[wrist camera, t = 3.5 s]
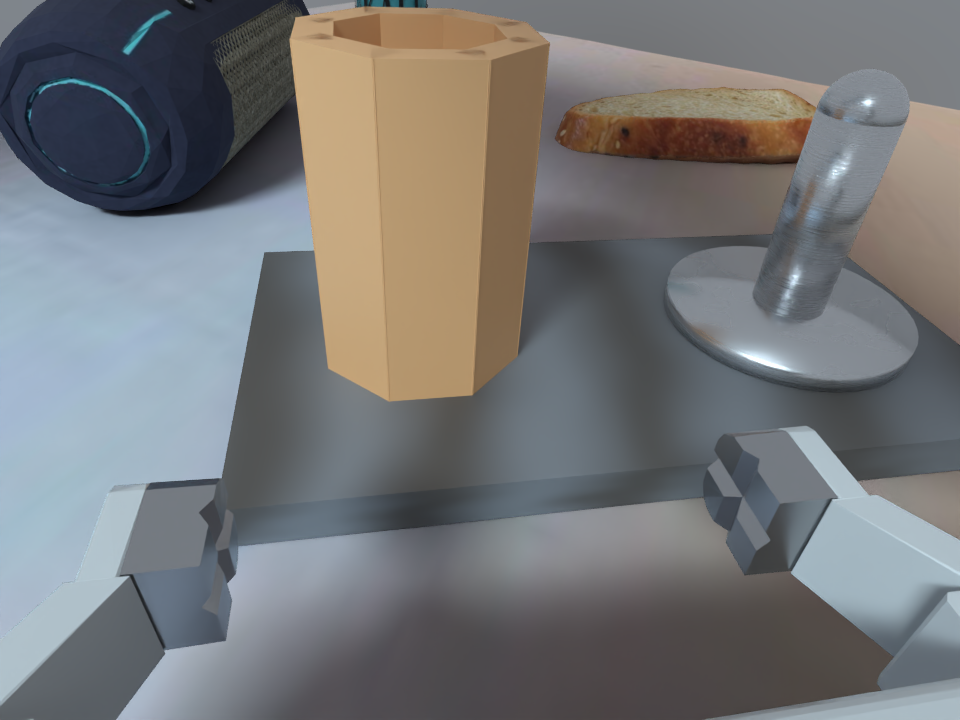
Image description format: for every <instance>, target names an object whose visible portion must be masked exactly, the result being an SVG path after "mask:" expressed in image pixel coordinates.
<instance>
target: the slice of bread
mask: <svg viewBox="0 0 960 720" xmlns="http://www.w3.org/2000/svg"><path fill="white" fill-rule="evenodd" d="M815 111H816V107H814V106H813V105H811V104H810V103H808V102H807V101H805V100H804V99H802V98H800V97H798V96H797V95H795V94H793V93H791V92H789V91H787V90H784V89H768V90H757V89H751V90H747V89H733V88H726V87H720V88H700V89H695V90H689V89H676V90H670V89H669V90H662V91H657V92H654V93H640V94H632V95H622V96H616V97H607V98H601V99H599V100H595V101H592V102H585V103H581V104H579V105H576V106H574V107H573V108H571V109H570V110H569V111H567V112H566V114H565V115H564V117H563V120H562V122H561V124H560V127H559V129H558V132H557V135H556V137H555V139H556V141H557V142H558V143H559V144H561V145H563V146H564V147H566V148H568V149H571V150H575V151H580V152H586V153H598V154H604V155H614V156H623V157H630V158H648V159H658V160H663V159H669V160H680V161H701V162H715V163H726V162H731V163H743V164H746V163H765V164H777V163H783V162H788V163H798V160H799V157H800V154H801V151H802V149H803V146H804V143H805V140H806V137H807V134H808V131H809V129H810V126H811V123H812V120H813V117H814V114H815Z"/></svg>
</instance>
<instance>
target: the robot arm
mask: <svg viewBox="0 0 960 720" xmlns="http://www.w3.org/2000/svg"><path fill="white" fill-rule="evenodd" d="M714 451H715V452H716V454H717V456H718V458H719V459H717V460H716V461H715V462H714V463H713V464H712V465H710V466H709V467H708V468H707V471H706V474H705V477H704V480H703V495H704V500H705V503H706V507H707V509H708V511H709V513H710V515H711V517H712V519H713V521H714V522H716V523H717V524H719V525H720V526H722V527H723V528H725V529H726V530H728V534H727V539H726V544H727V546H728V547H729V549H730V551H731V553H732V554H733V556H734V558H735V560H736V561H737V563H738V565H739V567H740V568H741V570H742V572H743V574H744V575H753V574H764V573H774V572H784V571H792V572H791V574H792V575H793V576H795V577H796V578H797V579H798V580H800V581H801V582H802V583H803V584H804V585H806V586H807V587H808V588H809V589H811V590H812V591H813V592H814V593H816V594H817V595H818V596H819V597H821V598H822V599H823V600H824V601H825V602H827V603H828V604H829V605H830V606H832V607H833V608H834V609H835V610H837V611H838V612H839V613H840V614H841V615H843V616H844V617H845V618H846V619H848V620H849V621H850V622H851V623H853V624H854V625H855V626H856V627H857V628H859V629H860V630H861V631H862V632H864V633H865V634H866V635H867V636H869V637H870V638H871V639H872V640H873V641H875V642H876V643H877V644H878V645H880V646H881V647H882V648H883V649H885V650H886V651H887V652H888V653H889V654H891V655H892V656H893V657H894V658H893V659H892V660H891V661H890V663H889V664H888V665H887V666H886V667H885V669H884V670H883V671H882V672H881V674H880V675H879V678H878V681H877V684H878V686H879V687H880V689H881V690H882V691H876V692H870V693H863V694H857V695H851V696H845V697H839V698H833V699H827V700H821V701H814V702H808V703H802V704H796V705H790V706H784V707H778V708H772V709H765V710H759V711H753V712H747V713H741V714H735V715H729V716H723V717H716V718H710V719H704V720H960V540H959V539H957V538H955V537H953V536H951V535H950V534H948V533H946V532H944V531H942V530H940V529H939V528H937V527H935V526H933V525H931V524H929V523H928V522H926V521H924V520H922V519H920V518H918V517H917V516H915V515H913V514H911V513H909V512H907V511H906V510H904V509H902V508H900V507H898V506H897V505H895V504H893V503H891V502H889V501H887V500H886V499H884V498H882V497H880V496H878V495H868V494H867V493H866V491H865V490H864V489H863V488H862V487H861V485H860V484H859V483H858V482H857V481H856V479H855V478H854V477H853V476H852V475H851V473H850V472H849V471H848V470H847V469H846V467H845V466H844V465H843V464H842V463H841V461H840V460H839V459H838V458H837V457H836V455H835V454H834V453H833V452H832V451H831V449H830V448H829V447H828V446H827V445H826V443H825V442H824V441H823V440H822V439H821V437H820V436H819V435H818V434H817V433H816V431H814V430H813V429H811V428H809V427H808V426H799V427H788V428H779V429H766V430H756V431H746V432H736V433H726V434H724V435H722V436H721V437H720V438H719V439H718V441H717V444H716V446H715V449H714ZM227 500H228V492H227V488H226V485H225V482H224V480H223V479H220V478H218V479H202V480H186V481H171V482H155V483H148V484H133V485H118V486H114V487H113V488H112V489H111V490H110V492H109V493H108V494H107V495H106V498H105V501H104V503H103V506H102V509H101V512H100V514H99V517H98V520H97V522H96V525H95V528H94V531H93V533H92V536H91V539H90V541H89V544H88V547H87V550H86V552H85V555H84V558H83V560H82V563H81V566H80V569H79V571H78V574H77V577H76V579H75V582H67V583H63V584H62V585H60V586H59V587H58V588H57V589H56V590H55V591H54V592H53V593H52V594H50V595H49V596H48V597H47V598H46V599H45V600H44V601H43V602H41V603H40V604H39V605H38V606H37V607H36V608H35V609H34V610H33V611H31V612H30V613H29V614H28V615H27V616H26V617H25V618H24V619H22V620H21V621H20V622H19V623H18V624H17V625H16V626H15V627H14V628H12V629H11V630H10V631H9V632H8V633H7V634H6V635H5V636H3V637H2V638H1V639H0V720H116V719H117V718H118V716H119V715H120V713H121V712H122V711H123V709H124V708H125V707H126V705H127V704H128V703H129V701H130V700H131V699H132V697H133V696H134V695H135V693H136V692H137V691H138V689H139V688H140V687H141V685H142V684H143V683H144V681H145V680H146V679H147V677H148V676H149V675H150V673H151V672H152V671H153V669H154V668H155V667H156V665H157V664H158V663H159V661H160V660H161V659H162V657H163V656H164V655H165V652H164V650H169V649H176V648H182V647H189V646H195V645H202V644H209V643H215V642H222V641H226V637H227V630H228V623H229V617H230V610H231V604H232V599H231V595H230V592H229V588H228V585H227V583H228V582H229V581H230V580H231V579H232V578H233V577H234V576H235V574H236V569H237V561H238V533H237V525H236V521H235V517H234V514H233V513H232V512H230V511H229V510H227V509H226V506H227Z"/></svg>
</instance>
